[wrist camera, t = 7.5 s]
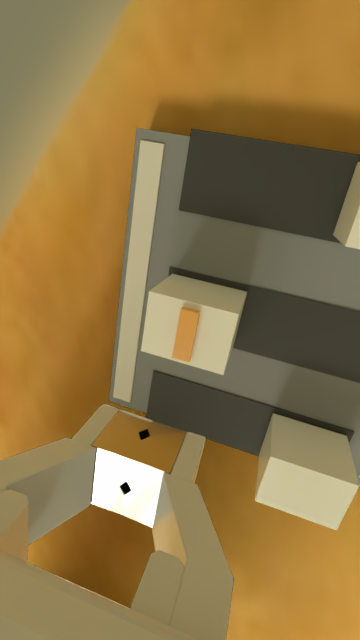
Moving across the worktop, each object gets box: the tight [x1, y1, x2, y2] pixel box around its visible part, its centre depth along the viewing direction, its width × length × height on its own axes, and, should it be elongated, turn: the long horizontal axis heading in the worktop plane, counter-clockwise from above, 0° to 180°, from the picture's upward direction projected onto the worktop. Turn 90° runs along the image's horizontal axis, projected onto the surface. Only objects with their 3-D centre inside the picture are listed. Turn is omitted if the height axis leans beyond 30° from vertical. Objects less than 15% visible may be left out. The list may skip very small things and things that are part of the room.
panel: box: [109, 128, 360, 484], centre depth 18 cm, size 17×17×2 cm
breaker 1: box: [141, 274, 247, 375], centre depth 17 cm, size 3×4×4 cm
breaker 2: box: [255, 413, 359, 530], centre depth 18 cm, size 3×4×4 cm
